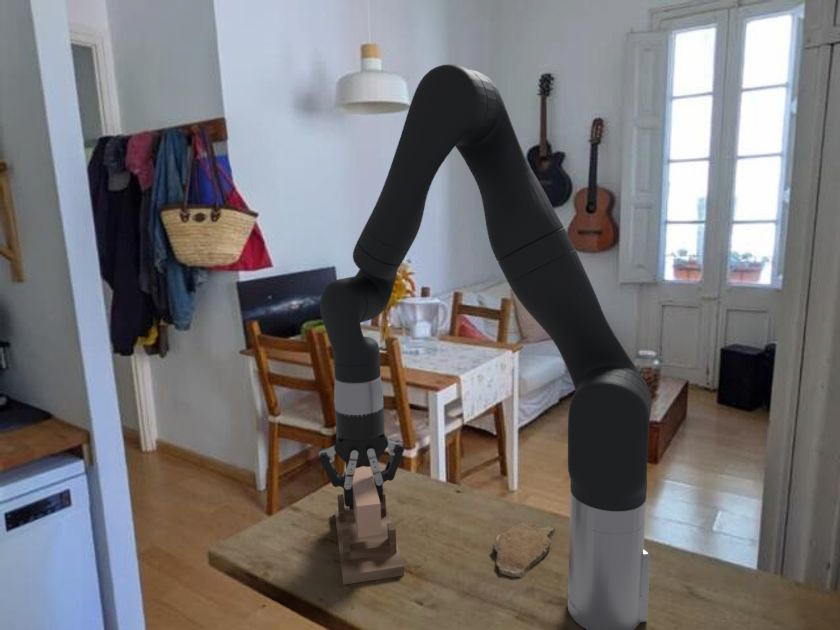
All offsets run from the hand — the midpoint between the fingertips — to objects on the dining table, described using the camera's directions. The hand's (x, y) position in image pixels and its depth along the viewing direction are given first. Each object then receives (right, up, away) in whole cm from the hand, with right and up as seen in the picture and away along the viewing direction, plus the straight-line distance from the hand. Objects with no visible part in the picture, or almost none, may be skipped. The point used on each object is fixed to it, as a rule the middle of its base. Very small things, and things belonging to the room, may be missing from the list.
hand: (364, 505), depth 94 cm
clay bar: (0, -1, 0) cm, 1 cm away
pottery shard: (+25, -7, -2) cm, 26 cm away
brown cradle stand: (0, -6, +1) cm, 7 cm away
